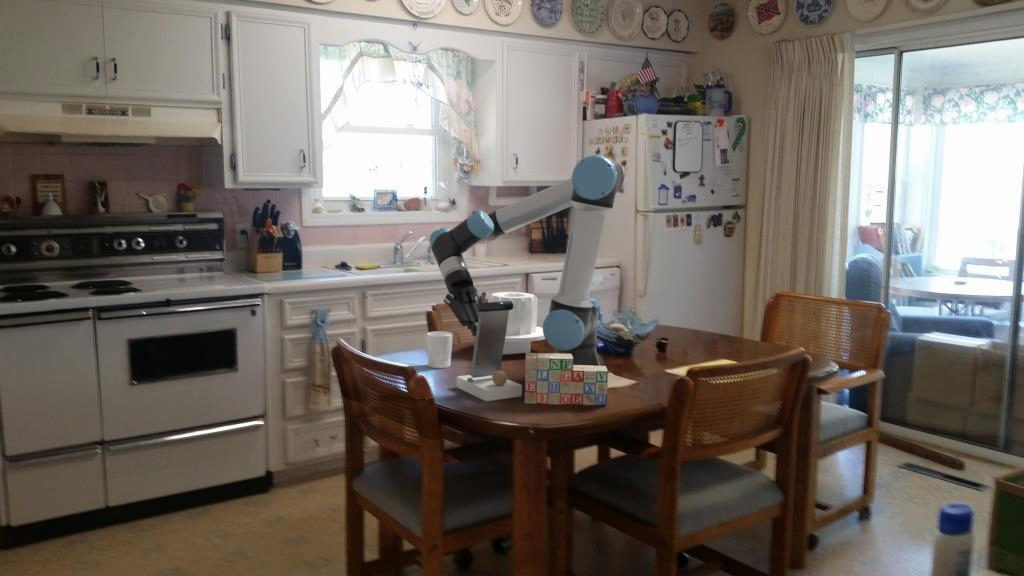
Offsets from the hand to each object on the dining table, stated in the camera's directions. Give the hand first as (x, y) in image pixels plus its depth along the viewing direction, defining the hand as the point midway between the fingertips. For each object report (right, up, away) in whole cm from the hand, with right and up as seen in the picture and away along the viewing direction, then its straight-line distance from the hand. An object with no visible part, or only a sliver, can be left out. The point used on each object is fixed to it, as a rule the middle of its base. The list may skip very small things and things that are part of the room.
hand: (484, 344), depth 223 cm
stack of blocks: (+21, -15, -7) cm, 27 cm away
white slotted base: (+1, -13, 0) cm, 13 cm away
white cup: (-15, -9, +29) cm, 33 cm away
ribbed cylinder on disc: (+7, -6, +53) cm, 54 cm away
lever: (0, -8, +1) cm, 8 cm away
